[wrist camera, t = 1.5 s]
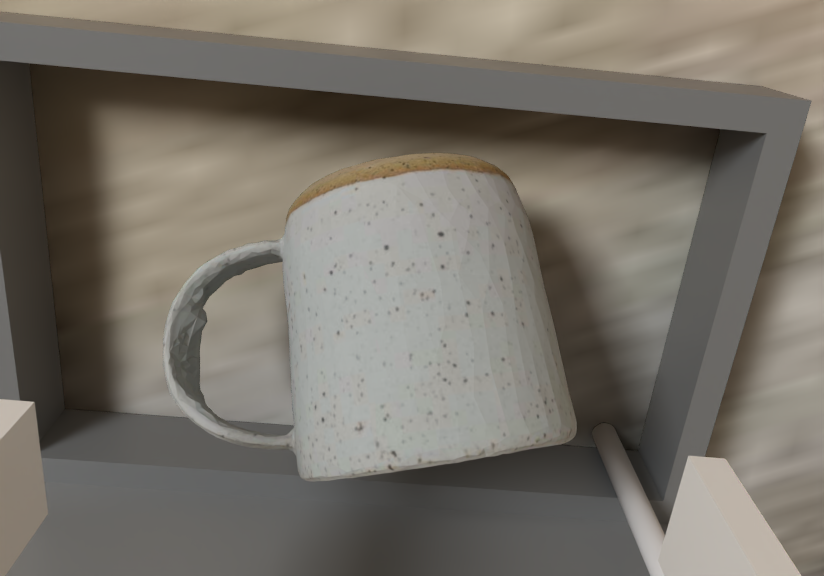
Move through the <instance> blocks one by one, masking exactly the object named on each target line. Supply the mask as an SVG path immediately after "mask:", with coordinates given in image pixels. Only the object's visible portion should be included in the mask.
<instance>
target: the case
mask: <svg viewBox="0 0 824 576" xmlns="http://www.w3.org/2000/svg"><path fill="white" fill-rule="evenodd" d="M29 63H32V64H43V65H53V66H64V67H74V68H85V69H96V70H106V71H117V72H127V73H138V74H148V75H159V76H169V77H180V78H190V79H201V80H211V81H222V82H232V83H243V84H253V85H264V86H274V87H285V88H295V89H306V90H316V91H327V92H337V93H348V94H358V95H369V96H380V97H390V98H401V99H411V100H422V101H432V102H443V103H453V104H464V105H474V106H485V107H495V108H506V109H516V110H527V111H537V112H548V113H558V114H569V115H579V116H590V117H600V118H611V119H621V120H632V121H643V122H653V123H664V124H674V125H685V126H695V127H706V128H716V129H720V133H719V137H718V141H717V145H716V148H715V152H714V156H713V160H712V164H711V168H710V172H709V176H708V180H707V184H706V187H705V191H704V195H703V199H702V203H701V207H700V211H699V215H698V219H697V223H696V226H695V230H694V234H693V238H692V242H691V246H690V250H689V254H688V258H687V262H686V265H685V269H684V273H683V277H682V281H681V285H680V289H679V293H678V297H677V300H676V304H675V308H674V312H673V316H672V320H671V324H670V328H669V332H668V336H667V339H666V343H665V347H664V351H663V355H662V359H661V363H660V367H659V371H658V375H657V378H656V382H655V386H654V390H653V394H652V398H651V402H650V406H649V410H648V413H647V417H646V421H645V425H644V429H643V433H642V437H641V441H640V445H639V449H638V451H633V450H625V449H624V447H623V445H622V443H621V441H620V439H619V437H618V435H617V433H616V430H615V428H614V427H613V426H612V425H611V424H608V423H602V424H599V425H597V426H596V427H595V428H594V429H593V431H592V437H593V439H594V442H595V444H596V446H597V448H592V447H578V446H564V445H554V446H548V447H541V448H534V449H528V450H523V451H518V452H514V453H510V454H501V455H498V456H491V457H484V458H479V459H475V460H468V461H463V462H459V463H452V464H443V465H437V466H431V467H425V468H418V469H410V470H403V471H398V472H392V473H384V474H376V475H370V476H362V477H356V478H345V479H336V480H330V481H315V482H313V481H306V480H304V479H302V478H301V477H300V475H299V472H298V467H297V459H296V455H295V454H294V452H293V451H291V450H268V449H258V448H249V447H245V446H241V445H237V444H233V443H230V442H227V441H225V440H222V439H219V438H217V437H215V436H214V435H211V434H209V433H208V432H206V431H205V430H204V429H202V428H201V427H199V426H198V425H196V424H195V423H194V422H193V421H191V420H190V419H189V418H182V417H168V416H155V415H141V414H127V413H114V412H100V411H86V410H73V409H65V404H64V395H63V385H62V376H61V366H60V356H59V347H58V337H57V327H56V318H55V308H54V298H53V289H52V279H51V270H50V260H49V250H48V241H47V231H46V221H45V212H44V202H43V193H42V183H41V173H40V164H39V154H38V144H37V135H36V125H35V115H34V106H33V96H32V87H31V77H30V67H29ZM810 104H811V101H810V100H807V99H803V98H800V97H797V96H793V95H790V94H786V93H783V92H780V91H776V90H773V89H770V88H766V87H763V86H752V85H742V84H732V83H722V82H712V81H701V80H691V79H681V78H671V77H661V76H650V75H640V74H630V73H620V72H610V71H600V70H589V69H579V68H569V67H559V66H549V65H538V64H528V63H518V62H508V61H498V60H487V59H477V58H467V57H457V56H447V55H437V54H426V53H416V52H406V51H396V50H386V49H375V48H365V47H355V46H345V45H335V44H324V43H314V42H304V41H294V40H284V39H274V38H263V37H253V36H243V35H233V34H223V33H212V32H202V31H192V30H182V29H172V28H161V27H151V26H141V25H131V24H121V23H111V22H100V21H90V20H80V19H70V18H60V17H49V16H39V15H29V14H19V13H9V12H0V399H5V400H18V401H30V402H35V410H36V418H37V426H38V434H39V443H40V451H41V459H42V467H43V475H44V483H45V492H46V500H47V508H48V514H47V516H46V517H45V519H44V520H43V522H42V523H41V525H40V526H39V528H38V529H37V530H36V532H35V533H34V535H33V536H32V538H31V539H30V541H29V542H28V544H27V545H26V546H25V548H24V549H23V551H22V552H21V554H20V555H19V557H18V558H17V560H16V561H15V562H14V564H13V565H12V567H11V568H10V570H9V571H8V573H7V574H6V575H5V576H664V574H663V571H662V569H661V567H660V564H659V562H658V559H659V555H660V552H661V548H662V545H663V541H664V538H665V535H666V531H667V528H668V524H669V521H670V517H671V514H672V510H673V507H674V503H675V500H676V497H677V493H678V490H679V486H680V483H681V479H682V476H683V472H684V469H685V466H686V462H687V459H688V456H700V457H705V454H706V451H707V448H708V444H709V441H710V438H711V434H712V431H713V428H714V424H715V421H716V418H717V414H718V411H719V408H720V404H721V401H722V398H723V394H724V391H725V388H726V384H727V381H728V378H729V374H730V371H731V368H732V364H733V361H734V358H735V354H736V351H737V348H738V344H739V341H740V338H741V334H742V331H743V328H744V324H745V321H746V318H747V314H748V311H749V308H750V304H751V301H752V298H753V294H754V291H755V288H756V284H757V281H758V278H759V274H760V271H761V268H762V264H763V261H764V258H765V254H766V251H767V248H768V244H769V241H770V238H771V234H772V231H773V228H774V224H775V221H776V218H777V214H778V211H779V208H780V204H781V201H782V198H783V194H784V191H785V188H786V184H787V181H788V178H789V174H790V171H791V168H792V164H793V161H794V158H795V154H796V151H797V148H798V144H799V141H800V138H801V134H802V131H803V128H804V124H805V121H806V118H807V114H808V111H809V108H810ZM227 422H228V423H230V424H232V425H234V426H237V427H240V428H243V429H246V430H250V431H255V432H260V433H267V434H276V435H287V434H288V433H289V432H290V431H291V430H292V429H293V428H294V426H291V425H277V424H264V423H250V422H236V421H227Z"/></svg>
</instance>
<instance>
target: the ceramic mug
mask: <svg viewBox="0 0 824 576" xmlns="http://www.w3.org/2000/svg"><path fill="white" fill-rule="evenodd" d="M277 262H283V280H284V291H285V300H286V307H287V318H288V326H289V348H290V369H291V383H292V385H291V392H292V411H293V417H294V428H293V429H292V430H291V431H290V432H289V433H288V434H287V435H276V434H267V433H260V432H255V431H250V430H246V429H243V428H240V427H237V426H234V425H232V424H230V423H228V422H227V421H225V420H223V419H222V418H220V417H218V416H217V415H216V414H214V413H213V412H212V410H211V409H210V408H208V407H207V405H206V403H205V400H204V395H203V394H202V392H201V391H200V384H199V383H200V342H201V335H202V330H203V328H204V326H205V325H206V323H207V316H206V312H205V311H204V310H203V306H204V305H205V303H206V301H207V300H208V298H209V297H210V296H211V295H212V294H213V293H214V292H215V291H216V290H217V289H218V288H219V287H220V286H221V285H222V284H223V283H224V282H225V281H227V280H228V279H230V278H232V277H234V276H236V275H241V274H242V273H244V272H245V271H247V270H250V269H253V268H257V267H260V266H263V265H266V264H271V263H277ZM163 367H164V372H165V376H166V381H167V386H168V389H169V392H170V394H171V396H172V397H173V399H174V400H175V402H176V404H177V405H178V407H179V408H180V410H181V411H182V412H183V413H184V414H185V415H186V416H187V417H188V418H189V419H190V420H191V421H193V422H194V423H195V424H196V425H198V426H199V427H201V428H202V429H204V430H205V431H206V432H208V433H209V434H211V435H214V436H215V437H217V438H219V439H222V440H225V441H227V442H230V443H233V444H237V445H241V446H245V447H249V448H258V449H268V450H291V451H293V452H294V454H295V455H296V459H297V467H298V472H299V475H300V477H301V478H302V479H304V480H306V481H313V482H315V481H330V480H336V479H345V478H356V477H362V476H370V475H376V474H384V473H392V472H398V471H403V470H410V469H418V468H425V467H431V466H437V465H443V464H452V463H459V462H463V461H468V460H475V459H479V458H484V457H491V456H498V455H501V454H510V453H514V452H518V451H523V450H528V449H534V448H541V447H548V446H554V445H560V444H564V443H567V442H569V441H570V440H572V439H573V438H574V437H575V435H576V432H577V421H576V417H575V413H574V409H573V405H572V401H571V398H570V394H569V391H568V386H567V381H566V376H565V372H564V368H563V363H562V359H561V355H560V350H559V345H558V341H557V336H556V332H555V328H554V323H553V319H552V315H551V311H550V307H549V303H548V299H547V295H546V292H545V288H544V283H543V279H542V274H541V270H540V265H539V260H538V255H537V250H536V246H535V241H534V237H533V233H532V230H531V226H530V223H529V219H528V216H527V214H526V212H525V209H524V207H523V205H522V202H521V200H520V198H519V195H518V193H517V191H516V188H515V187H514V185H513V183H512V182H511V180H510V178H509V177H508V176H507V175H506V174H505V173H504V172H503V171H502V170H500V169H499V168H498V167H496V166H495V165H492V164H490V163H487V162H485V161H482V160H480V159H477V158H475V157H472V156H466V155H458V154H451V153H424V154H410V155H403V156H396V157H390V158H383V159H376V160H372V161H369V162H365V163H362V164H358V165H355V166H351V167H348V168H344V169H341V170H339V171H337V172H334V173H332V174H330V175H327V176H325V177H324V178H322V179H320V180H318V181H317V182H315V183H313V184H312V185H311V186H309V187H308V188H307V189H306V190H305V191H304V192H303V193H302V194H301V195H300V196H299V197H298V198H297V200H296V201H295V202H294V203H293V205H292V206H291V208H290V209H289V212H288V215H287V218H286V227H285V234H284V236H283V237H282V238H281V239H279V240H277V241H262V242H258V243H248V244H246V245H243V246H241V247H238V248H234V249H231V250H227V251H226V252H224V253H222V254H220V255H218V256H217V257H215V258H213V259H211V260H209V261H207V262H206V263H205V264H203V265H202V266H201V267H199V268H198V269H197V270H196V271H195V272H194V273H193V275H192V276H191V277H190V278H189V279H188V280H187V281H186V283H185V284H184V285H183V287H182V288H181V290H180V291H179V293H178V294H177V296H176V298H175V299H174V301H173V303H172V306H171V309H170V311H169V315H168V318H167V321H166V324H165V329H164V338H163Z"/></svg>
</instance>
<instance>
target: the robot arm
mask: <svg viewBox="0 0 824 576" xmlns="http://www.w3.org/2000/svg"><path fill="white" fill-rule="evenodd" d="M47 514H48V508H47V500H46V492H45V483H44V475H43V467H42V459H41V451H40V443H39V434H38V426H37V418H36V410H35V402H30V401H18V400H5V399H0V576H5V575H6V574H7V573H8V571H9V570H10V568H11V567H12V565H13V564H14V562H15V561H16V560H17V558H18V557H19V555H20V554H21V552H22V551H23V549H24V548H25V546H26V545H27V544H28V542H29V541H30V539H31V538H32V536H33V535H34V533H35V532H36V530H37V529H38V528H39V526H40V525H41V523H42V522H43V520H44V519H45V517H46V516H47ZM658 562H659V564H660V567H661V569H662V571H663V574H664V576H801V574H800V573H799V571H798V570H797V568H796V567H795V565H794V563H793V562H792V560H791V559H790V557H789V556H788V554H787V553H786V551H785V550H784V548H783V547H782V545H781V543H780V542H779V540H778V539H777V537H776V536H775V534H774V533H773V531H772V530H771V528H770V527H769V525H768V523H767V522H766V520H765V519H764V517H763V516H762V514H761V513H760V511H759V510H758V508H757V507H756V505H755V503H754V502H753V500H752V499H751V497H750V496H749V494H748V493H747V491H746V490H745V488H744V487H743V485H742V483H741V482H740V480H739V479H738V477H737V476H736V474H735V473H734V471H733V470H732V468H731V467H730V465H729V463H728V462H727V460H726V459H724V458H712V457H700V456H688V459H687V462H686V466H685V469H684V472H683V476H682V479H681V483H680V486H679V490H678V493H677V497H676V500H675V503H674V507H673V510H672V514H671V517H670V521H669V524H668V528H667V531H666V535H665V538H664V541H663V545H662V548H661V552H660V555H659V559H658Z"/></svg>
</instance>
